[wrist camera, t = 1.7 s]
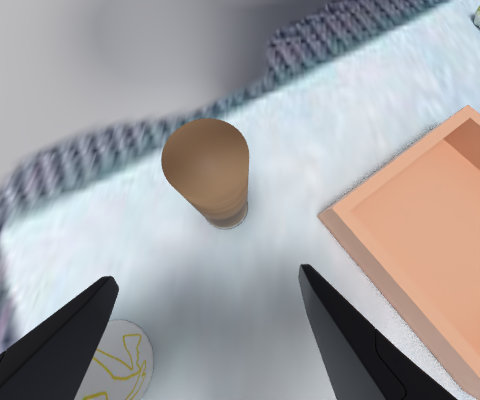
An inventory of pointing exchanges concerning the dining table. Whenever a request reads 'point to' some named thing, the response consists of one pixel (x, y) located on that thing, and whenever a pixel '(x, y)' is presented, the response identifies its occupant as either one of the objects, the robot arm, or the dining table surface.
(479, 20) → the towel
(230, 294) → the dining table surface
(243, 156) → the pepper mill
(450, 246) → the bin
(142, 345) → the light grey cylinder
